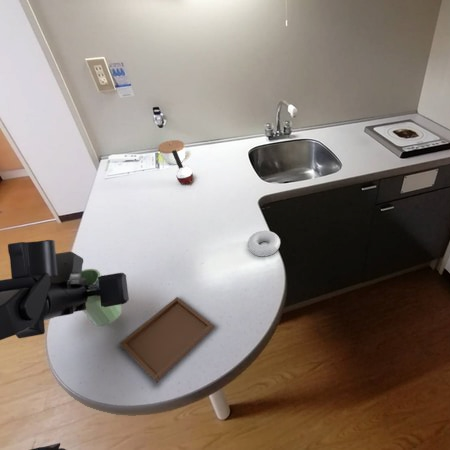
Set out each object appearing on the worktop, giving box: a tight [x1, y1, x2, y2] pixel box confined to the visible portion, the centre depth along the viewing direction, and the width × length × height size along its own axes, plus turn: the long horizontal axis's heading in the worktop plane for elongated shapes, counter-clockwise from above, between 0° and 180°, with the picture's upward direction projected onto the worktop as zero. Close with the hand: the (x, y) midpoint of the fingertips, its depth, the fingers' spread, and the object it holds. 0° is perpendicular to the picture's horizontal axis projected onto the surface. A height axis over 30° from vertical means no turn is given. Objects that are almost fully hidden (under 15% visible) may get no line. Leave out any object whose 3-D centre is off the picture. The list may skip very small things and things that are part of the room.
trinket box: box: [157, 139, 186, 166], centre depth 134 cm, size 11×11×9 cm
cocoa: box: [172, 150, 194, 186], centre depth 120 cm, size 10×6×12 cm, turn 14°
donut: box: [247, 230, 281, 257], centre depth 94 cm, size 10×4×10 cm
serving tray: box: [118, 297, 214, 384], centre depth 71 cm, size 16×14×2 cm
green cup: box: [81, 268, 123, 327], centre depth 67 cm, size 6×6×12 cm
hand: (96, 291), depth 68 cm, fingers closed on green cup, 6 cm apart
